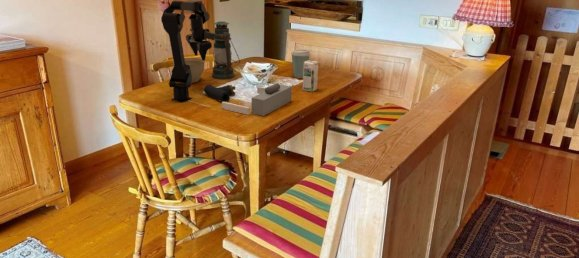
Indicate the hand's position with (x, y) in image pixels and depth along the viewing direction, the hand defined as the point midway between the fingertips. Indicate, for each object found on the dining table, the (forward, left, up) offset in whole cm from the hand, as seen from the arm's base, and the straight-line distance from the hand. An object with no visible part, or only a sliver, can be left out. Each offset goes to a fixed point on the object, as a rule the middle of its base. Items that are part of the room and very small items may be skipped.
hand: (200, 57), depth 214 cm
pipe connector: (-9, -21, -15) cm, 27 cm away
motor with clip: (-8, -41, -14) cm, 44 cm away
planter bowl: (+3, +10, -14) cm, 18 cm away
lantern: (+21, +1, -14) cm, 25 cm away
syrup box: (+25, -50, -14) cm, 57 cm away
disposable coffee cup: (+44, -34, -14) cm, 57 cm away
